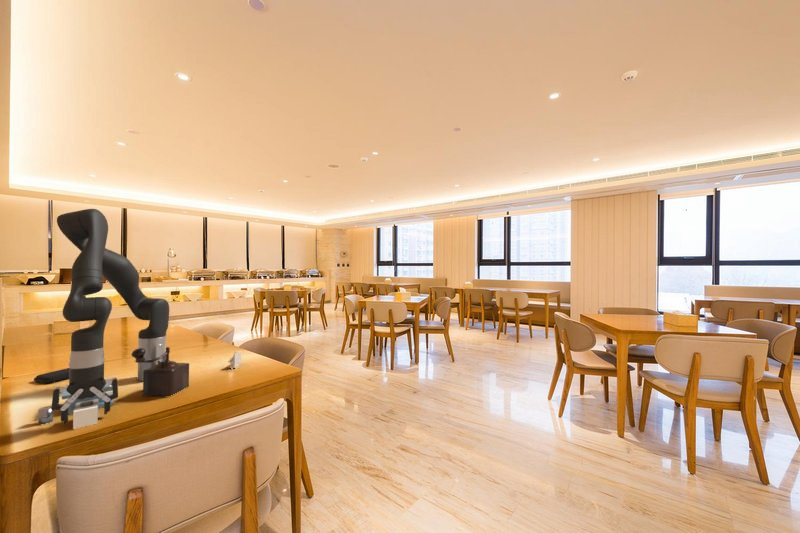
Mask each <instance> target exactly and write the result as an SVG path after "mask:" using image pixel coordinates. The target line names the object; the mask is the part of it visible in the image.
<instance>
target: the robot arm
mask: <svg viewBox="0 0 800 533" xmlns="http://www.w3.org/2000/svg"><path fill="white" fill-rule="evenodd" d="M56 223H57V227H58V228H59V230H60V231H61V233H62V234H63V236H65V238H66V239H67V240H68V241H69V242H71V243H72V244H73V246H75V247H76V248H77V249H78V250H79V251H80V253H79V254H78V256H76V258H75V260H74V262H73V264H72V265H71V266H72V267H71V270H70V271H71V272H70V274H71V276H70V278H71V285H70V292H69V294H68V297H67V299H66V300H65V303H64V305H63V308H62V317H63V318H64V319H65V320H66V321H67V322H69V323H77V322H80V323H81V322H90V321H91V322H92V321H95V322H94V323H93V324H92V325H90V326H88V327H84V328H80V329H77V330H74V331H73V332H72V333H71V338H70V355H69V363H68V368H69V379H68V380H69V381H68V387H66V386H63V387H62V386H61V387H60V386H56V387H55V388H54V389H53V391H52V400H51V406H50V407H51V410H53V412H54V411H60V422H61V423H62V422H63V424H68V422H69V414H68V407H69V406H70V404H72V403H73V402H74V400H75V399H79V400H81V399H84V398H92V397H94V396H96V395H97V396H98V397H100V398H102V399H103V400H104V407H103V408H104V409H103V415H107V414H108V413H109V412H110V411H111V406H110V402H111V400H113V401H114V400H115V399H117V398H119V388H118V378H117V377H112V378H113V379H111V380H105V379H106V378H105V349H104V338H105V336H104V334H105V329H106V325H107V322H108V319H109V318H110V315H111V312H112V308H113V304H112V301H111V300H110V299H109V298H107V297H105V296H95V297H89V296H90V295H94V294H97V293H99V292H102V290H103V287H104V286H103V285H104V282H103V281H104V280H103V279H104V278H105V280H106V281H107V282H108V283H109V284H110V285H111V287H113V288H114V289H115V290H116V292H117V293H118V295H120V296H121V298H122V299H123V301H124V302H125V303H126V305H127V307H128V308H129V310H130V311H131V312H132V314H133V316H135V317H136V318H137V319H139V320H141V321H148V322H149V323H148V326H147V327H146V328H144V329H143V328H142V329H141V330H139V331H138V338H137V339H138V340H137V341H138V342H137V343H138V345H137V349H138V348H142V349H145V350H146V353H145V354H144V358H145V360H152V359H155V358H158V357H160V356H162V355H163V354H164V353H165V352H166V348H167V331H168V329H169V324H170V323H169V321H170V305H169V302H168V301H167V299H165V298H157V297H156V298H154V297H153V298H152V297H150V298H149V297H148V296H146V295H145V294H144V293H143V292H142V290H141V289H140V286H139V285H140V273H139V271H138V269H136V267H135V266H134V265H133V263H132V262H131V260H130V259H129V258H127V257H126V256H124V255H122V254H120V253H117V252H115V251H113V250H111V249H109V248H106V245H107V239H108V233H109V224H108V220H107V217H106V216H105V214H104V213H103V212H101V211H100V210H98V209H96V208H86V209H81V210H76V211H70V212H66V213H62V214H59V215H58V216H57V217H56ZM103 277H104V278H103ZM85 296H88V297H85ZM165 360H166V356H164V357H163V358H161V359H159V360H157V361H154V362H150V363H142V362H139V363H137V381H139V382H143V371H144V370H146V369H148V368H151V367H152V366H153V365H156V364H158V361H160V362H163V361H165ZM106 384H108V385H109V386H110V387H112V389H113V390H112V392H113V394H112V395H108V394H107V393H108V392H105V391H104V390H102V388H103V387H104V386H105V385H106ZM65 391H67V392H68V393H69V394H71V396H70V397H69V398H68V399H66V400H67V401H66V400H65V401H64V403H59V402H60V397H62V395H63V393H64V392H65Z"/></svg>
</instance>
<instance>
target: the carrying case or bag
mask: <svg viewBox="0 0 800 533" xmlns="http://www.w3.org/2000/svg"><path fill="white" fill-rule="evenodd" d="M68 380H69V367H67V368H63V369H58V370H54V371H49V372H46V373H42V374H38V375H36V376H35V377H34V378H33V381H34V382H36V383H38V382H39V383H40V384H43V383H44V385H50V384H51V385H52V384H54V382H55V383H58V382H62V381H68Z"/></svg>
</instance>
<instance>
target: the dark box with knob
mask: <svg viewBox="0 0 800 533" xmlns="http://www.w3.org/2000/svg"><path fill="white" fill-rule="evenodd" d="M145 353H146V350H145V349H142V348H138V347H137V348H135V349H134V350H133V351H132V352H131V357H133V358H134V359H135V360H134V362H135V363H137V364H138V363H139V362H142V363H150V362H154V361H157V360H159V359H161V358H163V357H164V356H166V360H165V361H163V362H160V361H158V364H156V365H153V366H152V367H151V368H148V369H146V370H144V371H143V381H142V382H143V383H142V396H143V397H144V396H145V397H153V398H154V397H155V398H167V397H166V396H170V397H172V396H174V395H176V394H178V393H180V392H182V391H184V390H185V389H187V388H189V387H190V363H189V362H176V361H174V360H170V353H171V348H170V347H169V346H166V352H165V353H164V354H163V355H162V356H160V357H158V358H155V359H152V360H145V358H144V354H145ZM188 386H189V387H188ZM186 387H187V388H186ZM184 388H185V389H184ZM183 389H184V390H183ZM181 390H182V391H181ZM179 391H180V392H179ZM177 392H178V393H177ZM175 393H176V394H175ZM173 394H174V395H173ZM171 395H172V396H171Z"/></svg>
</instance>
